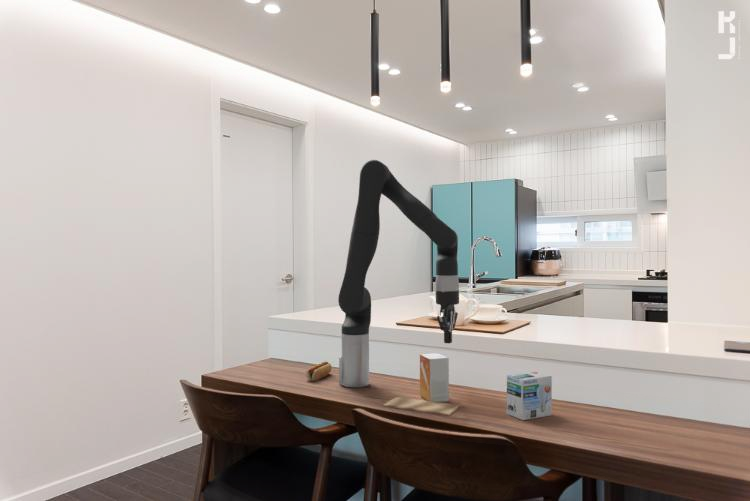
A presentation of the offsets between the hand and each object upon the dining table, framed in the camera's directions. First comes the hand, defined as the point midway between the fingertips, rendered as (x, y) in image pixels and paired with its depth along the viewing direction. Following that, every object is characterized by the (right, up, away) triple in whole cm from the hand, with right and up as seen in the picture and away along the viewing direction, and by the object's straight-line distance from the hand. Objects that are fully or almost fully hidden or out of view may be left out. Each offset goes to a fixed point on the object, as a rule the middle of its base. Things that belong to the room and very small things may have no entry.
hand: (448, 342), depth 172 cm
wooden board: (-10, -15, -19) cm, 26 cm away
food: (-44, -16, +18) cm, 50 cm away
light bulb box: (+18, -15, -27) cm, 36 cm away
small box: (-6, -15, -11) cm, 19 cm away
